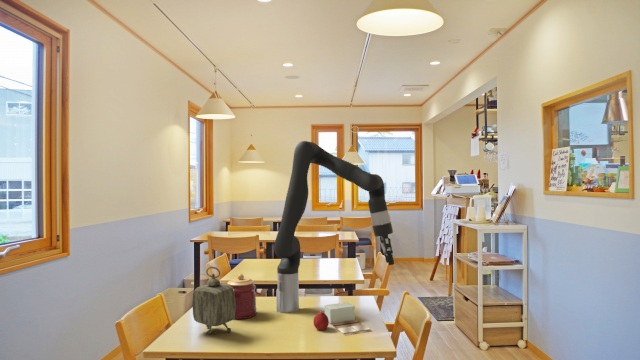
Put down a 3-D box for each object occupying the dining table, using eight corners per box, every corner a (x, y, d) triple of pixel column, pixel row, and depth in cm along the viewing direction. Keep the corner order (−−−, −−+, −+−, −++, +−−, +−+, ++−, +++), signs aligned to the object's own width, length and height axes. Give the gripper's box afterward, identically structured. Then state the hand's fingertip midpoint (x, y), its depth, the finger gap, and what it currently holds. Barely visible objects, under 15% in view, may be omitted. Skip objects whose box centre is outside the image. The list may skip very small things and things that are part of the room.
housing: (330, 323, 171) (330, 309, 171) (324, 318, 177) (324, 305, 177) (354, 319, 175) (354, 306, 175) (348, 315, 181) (348, 302, 181)
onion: (320, 327, 169) (320, 307, 169) (332, 331, 165) (331, 310, 165) (310, 332, 164) (310, 311, 164) (322, 335, 161) (322, 313, 161)
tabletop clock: (235, 331, 166) (234, 266, 166) (219, 339, 158) (218, 271, 158) (208, 325, 173) (207, 263, 173) (190, 332, 166) (189, 267, 166)
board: (345, 338, 158) (345, 334, 158) (322, 320, 178) (322, 316, 178) (372, 333, 162) (372, 330, 162) (347, 316, 182) (347, 313, 182)
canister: (253, 319, 180) (252, 277, 180) (222, 320, 180) (221, 277, 180) (258, 310, 193) (258, 270, 193) (229, 310, 193) (229, 270, 193)
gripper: (370, 224, 180) (379, 263, 179) (373, 225, 166) (382, 267, 165) (388, 220, 180) (397, 259, 179) (392, 221, 166) (402, 263, 165)
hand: (390, 263), depth 172 cm, fingers open, 8 cm apart
